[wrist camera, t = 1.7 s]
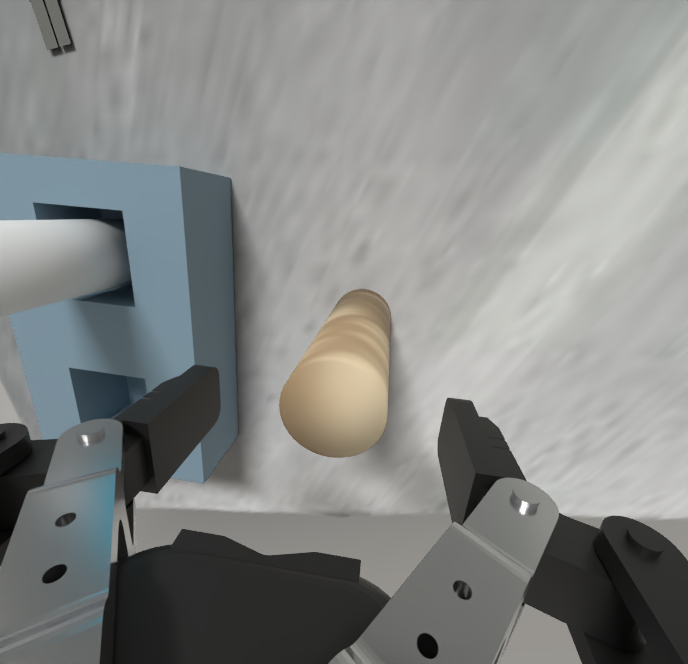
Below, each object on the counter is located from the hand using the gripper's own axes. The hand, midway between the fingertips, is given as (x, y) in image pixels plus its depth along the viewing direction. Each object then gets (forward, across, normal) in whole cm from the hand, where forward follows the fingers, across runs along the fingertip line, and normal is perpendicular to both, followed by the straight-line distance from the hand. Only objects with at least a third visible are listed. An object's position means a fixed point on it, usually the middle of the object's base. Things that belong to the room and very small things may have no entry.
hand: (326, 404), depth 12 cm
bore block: (+11, +14, +1) cm, 17 cm away
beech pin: (+10, 0, 0) cm, 10 cm away
